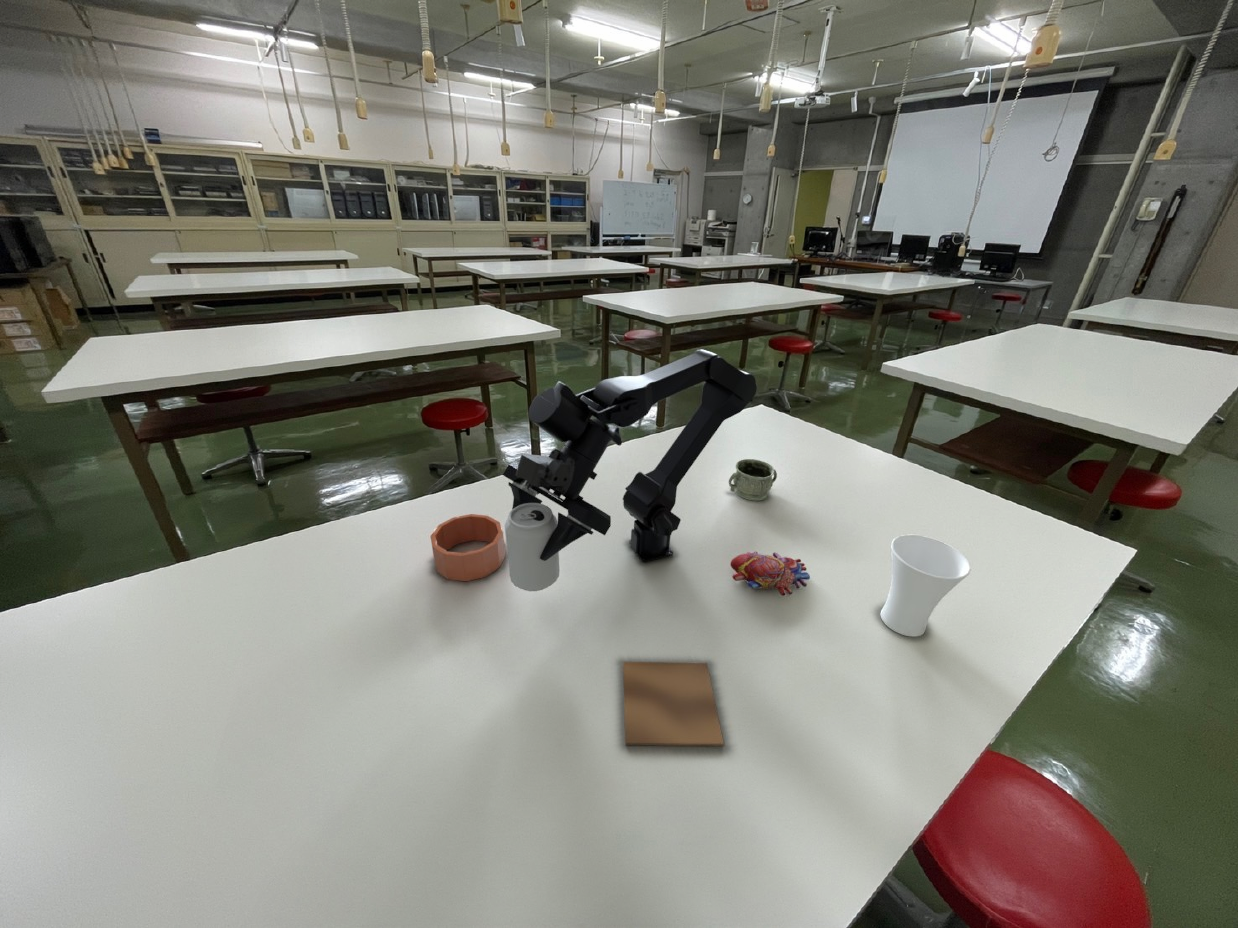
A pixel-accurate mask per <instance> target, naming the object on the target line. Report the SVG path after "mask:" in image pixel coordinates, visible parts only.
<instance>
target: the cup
mask: <svg viewBox="0 0 1238 928" xmlns="http://www.w3.org/2000/svg"><path fill="white" fill-rule="evenodd" d="M890 553H891V582H890V588H889V592H888V595H887V599H886V602H885V603H884V605H883V607H882V609H881V611H880V618H881V620H882V622H883V623H884V624H885V625H886V626H887V627H888V628H889V629H891V630H892V631H894V632H896V633H898V634H900V635H902V636H906V637H911V638H912V637H913V638H915V637H921V636H922V635H923V634H925V632H926V629H927V625H928V622H929V618H930V617H931V615H932V614H933V612H934V610H935V608H936V607H937V606H938V605H939V603H940V602H941V601H942V599H943V598H944V597H946V595H948V594H949V593H950V592H951V591H952V590H953V589H955V587H956V586H957V585H958V584H960V583H961V582H962V581H963V580H965V578H967V577H968V576H969V575H970V573H971V571H972V567H971V563H970V562H969V560H968V559H967V557H966V556H965V555H964V554H963V553H962V552H961V551H959V550H958V549H957V548H955V547H953V546H952V545H950V544H948V543H945V542H944V541H941V540H939V539H936V538H934V537H930V536H926V535H922V534H916V533H915V534H910V533H907V534H901V535H898V536H897V537H894V538H893V539H892V541H891V542H890Z"/></svg>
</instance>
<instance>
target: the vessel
mask: <svg viewBox="0 0 1238 928" xmlns="http://www.w3.org/2000/svg"><path fill="white" fill-rule="evenodd" d="M735 469H736V471H735V472H733V473H732V474H731V475H730V477H729V479H728V485H729V487H730V489H729V490H730V492H733V493H734V492H735V494H736V495H737V496H739V497H740V498H743V499H745V500H750V501H762V500H764V499H766V498H767V497H768V492H769V491H770V490H771V489H772V487H773V486H774V485H773V484H774V483H775V482H776V480H777V477H778V473H777V470H776V469H774V467H773V466H772V464H770V463H768V462H766V461H763V460H760V459H755V458H744V459H741V460H739V461H737V462H736V464H735Z"/></svg>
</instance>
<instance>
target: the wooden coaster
mask: <svg viewBox="0 0 1238 928" xmlns="http://www.w3.org/2000/svg"><path fill="white" fill-rule="evenodd" d="M622 673H623V678H622V679H623V702H624V703H623V705H624V706H623V707H624V713H623V714H624V743H625V744H624V745H625V746H692V747H693V746H694V747H695V746H697V747H698V746H701V747H702V746H704V747H705V746H707V747H709V746H711V747H718V746H719V747H720V746H721V747H723V746H724V739H723V734H722V730H721V725H720V719H719V715H718V710H717V706H716V700H715V696H714V691H713V690H714V689H713V686H712V681H711V677H710V671H709V667H708V663H707V662H682V661H681V662H680V661H679V662H676V661H675V662H672V661H669V662H668V661H664V662H663V661H662V662H661V661H623V662H622Z"/></svg>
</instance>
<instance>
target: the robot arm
mask: <svg viewBox="0 0 1238 928" xmlns="http://www.w3.org/2000/svg"><path fill="white" fill-rule="evenodd" d="M701 383H704V384H703V386H702V387H701V389H702V390H701V399H700V405H699V406H698V408H697V409H696V410H695V412H694V414H693V415H692V416H691V417H690V419H689V420H688V422H687V423H686V425H685V426H684V427H683V429H682V430H681V431H680V433H679V434H678V435H677V437H676V438H675V440H674V441H673V443H672V444H671V446H670V447H669V448H668V450H667V451H666V453H665V454H664V456H662V458H661V460H660V461H659V462H658V464H657V465H656V467H654V469H652V470H651V471H649V472H647V473H643V472H642V471H638V472H637V473H636V474H635V475H634V477H633V479H632V481H631V482H630V483H629V484H628V485H627V486H626V487H625V490H626V491H625V493H624V494H623V496H622V502H623V509H625V511H626V512H627V513H628V514H629V515H630V516H631V517H633V518H634V519H635V520H633V528H632V529H631V531H630V539H629V541H628V544H629V545H630V548H631V549H632V551H633V552H634V554H635V555H637V557H638V559H640V561H641V562H642V563H647V562H651V561H655V560H659V559H662V558H667V557H670V556H673V555H674V550H673V549H672V548H671V547H670V546H671V536H672V533H674V531H677V530H678V529H679V527H680V524H681V521H682V520H681V518H680V517H679V516H677V515H676V514H674V513H673V512H672V511H673V508H674V506H675V505H676V500H677V492H678V491H677V490H678V486H679V484H680V483H681V481H682V480H683V478H684V477H685V476H686V474H687V473H688V472H689V470H690V469H691V467H692V466H693V465H694V463H695V461H696V460H697V459H698V457H699V456H700V455H701V453H702V452H703V450H704V449H705V448H706V447H707V445H708V443H709V442H710V440H711V439H712V438H713V437H714V435H715V434H716V432H717V431H718V429H719V428H720V426H721V425H723V423H724V422H725V421H726V420H728V419H729V418H732V417H733V416H735V415H738V414H739V413H741V412H742V411H744V409H745V408H746V407H747V405H748V404H749V403H750V402H751V401H752V400H753V399H754V397H755V396H756V394H757V389H758V386H757V383H756V377H755V376H754V375H753V374H752V373H749V372H747V371H744V370H741V369H738V368H737V367H735V366H734V365H732V364H730V362H728V361H726V360H725V358H723V357H722V356H721V354H717V353H715V352H712V351H709V350H705V349H697V350H695V351H693V352H692V354H690V355H687V356H685V357H682V358H680V359H678V360H675V361H673V362H670V363H668V364H665V365H663V366H661V367H659V368H656V369H653V370H652V371H648V372H646V373H644V374H641V375H627V376H626V375H620V376H616V377H610V378H605V379H603V380H601V381H599V382H598V383H596V384H595V386H594V387H592V388H589V389H587V390H584V391H582V392H579V393H577V394H575V392H574V391H573V389H571V387H569V386H568V385H567V384H565V383H564V382H562V381H560V380H559V381H557V382H556V384H555V385H554V386H553V387H549V388H546V389H544V390H543V391H541V392H540V393H539V394H537V395H536V396H535V397H534V398H533V400H532V402H531V403H530V406H529V409H528V418H529V421H530V422H531V423H533V424H534V425H535V426H537V427H538V428H540V429H541V430H543V431H544V432H546V433H547V434H549V435H550V436H551V437H553V438H554V439H556V440H557V441H558V442H560V443H564V444H563V446H562V447H561V449H560V450H559V449H556V448H554V449H553V450H551V452H550V454H549V455H548V456H544V455H539V454H530V453H521V455H520V459H519V462H516V461H514V462H511V463H509V464H508V465H507V466H506V468H505V470H504V471H503V472H502V476H503V477H506V479H508V480H510V481H508V483H507V484H508V487H510V489H511V493H512V496H513V499H512V500H513V501H512V507H511V510H512V509H514V508H515V507H517V506H519V505H522V504H526V503H540V504H543V500H542V499H540V498H539V497H537V495H542V496H543V497H545V498H547V499H548V500H550V501H552V502H554V503H555V504H557V505H558V506H560V507H561V508H564V509H565V510H567V515H565V514H563V513H561V512H558V513H557V527H556V529H555V530H554V532H553V534H552V535H551V537H550V539H549V541H548V542H547V544H546V546H545V548H544V550H543V552H542V554H541V556H540V559H541V560H543V561H546V560H548V559H549V558H550V557H552V556H553V555H555V554H556V553H557V552H559V553H560V551H562V550H563V549H564V548H566V547H567V546H569V545H570V544H571V543H574V542H575V541H577V540H578V539H580V538H582V537H584V536H586V535H587V534H589V535H591V536H592V535H593V534H594V531H595V532H598V533H600V534H601V535H603V536H606V534H607V533H608V531H609V530H610V528H611V525H612V524H611V523H612V519H611V518H612V517H611V515H610V514H608V513H606V512H605V511H604V510H602V509H600V508H598V507H596V506H595V505H593V504H591V503H589V502H588V501H586V500H585V499H584V497H583V496H581V495H580V494H581V493H582V491H583V489H584V488H585V486H586V484H587V483H588V480H589V479H591V480H593V481H595V479H596V477H598V473H596V472H595V471H594V470H595V468H596V467H597V465H598V463H599V462H600V460H601V459H602V457H603V456H604V453H605V452H606V451H607V449H608V447H609V445H610V443H612V444H614V445H616V446H618V447H619V446H621V445H622V443H623V442H622V441H623V440H622V437H621V433H620V428H628V427H630V426H633V425H634V424H635V423H637V422H638V421H640V420H641V419H643V418H644V417H646V416H647V415H648V414H649V412H650V411H651V409H652V407H653V406H654V405H656V404H657V403H659V402H661V401H664V400H665V399H668V398H670V397H672V396H674V395H677V394H679V393H681V392H683V391H685V390H687V389H690V388H692V387H694V386H697V385H699V384H701ZM592 417H594V418H592ZM613 424H614V425H613ZM550 490H552V491H553V492H552V491H550ZM561 496H562V497H561ZM563 497H564V498H563ZM592 530H594V531H592Z"/></svg>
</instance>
